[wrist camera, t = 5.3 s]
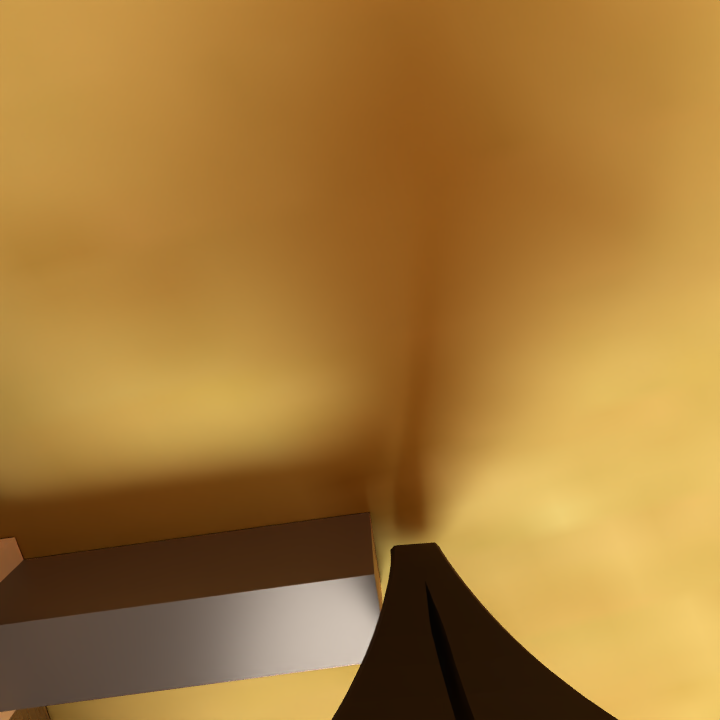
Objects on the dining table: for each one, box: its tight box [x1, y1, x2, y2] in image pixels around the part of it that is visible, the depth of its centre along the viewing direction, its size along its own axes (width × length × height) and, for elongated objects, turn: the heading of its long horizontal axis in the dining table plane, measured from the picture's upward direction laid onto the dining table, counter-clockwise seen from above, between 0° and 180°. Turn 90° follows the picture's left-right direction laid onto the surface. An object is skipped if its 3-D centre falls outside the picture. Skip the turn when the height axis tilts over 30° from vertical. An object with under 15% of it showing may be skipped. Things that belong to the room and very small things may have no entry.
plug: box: [0, 512, 383, 720], centre depth 12 cm, size 4×14×4 cm, turn 98°
